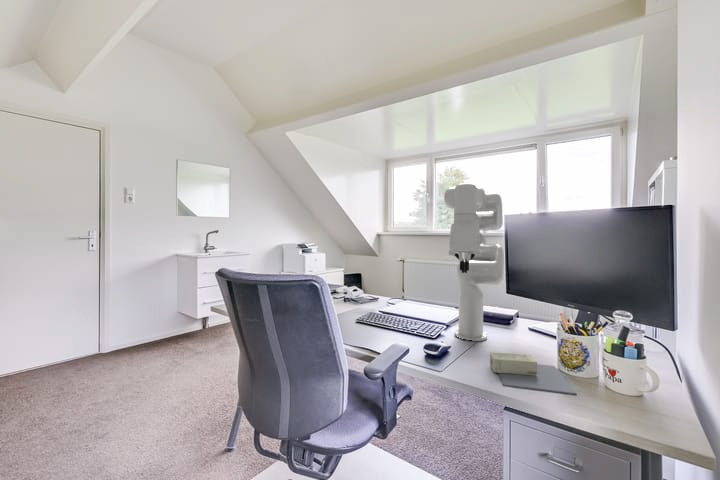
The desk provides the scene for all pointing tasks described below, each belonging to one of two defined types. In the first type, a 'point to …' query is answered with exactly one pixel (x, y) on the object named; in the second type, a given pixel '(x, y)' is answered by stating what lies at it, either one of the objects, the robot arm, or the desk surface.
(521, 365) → the skincare box
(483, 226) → the robot arm
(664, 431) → the desk surface
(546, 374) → the desk mat
